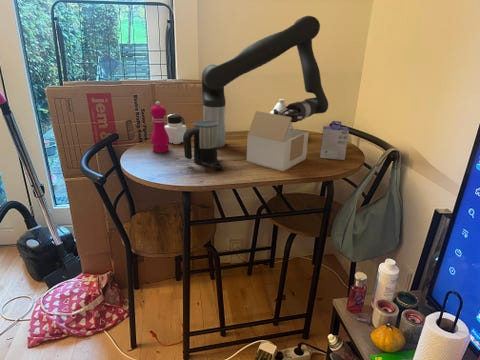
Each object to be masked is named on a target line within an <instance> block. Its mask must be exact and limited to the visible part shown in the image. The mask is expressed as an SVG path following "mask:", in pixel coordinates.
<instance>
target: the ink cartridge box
mask: <svg viewBox="0 0 480 360" xmlns="http://www.w3.org/2000/svg"><path fill="white" fill-rule="evenodd" d="M349 131H350V129H349V127H344V126H342V121H338V120H332V121H331V126H327V125H324V126H323V128H322V137H321V145H320V146H321V147H320V153H319V158H320V159H331V160H339V161H340V160H342V161H343V160H344V161H345V160H346V154H347V146H348V140H349V134H350V133H349Z"/></svg>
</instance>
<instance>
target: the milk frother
mask: <svg viewBox="0 0 480 360" xmlns="http://www.w3.org/2000/svg"><path fill="white" fill-rule="evenodd" d="M217 125H218V123H217V122H214V121H204V120H196V121H194V122H193V126H194V127H193V128H189V129H186V132H185V133H184V136H183V142H182V144H183V152H184V158H185V159H187V160H193V163H196V164H198V165H204V166H207V167H211V168H213V169H215V170H218V171H219V170H220V169H224V165H223V164H222V163H220V162H218V161H219V160H218V148H217ZM192 137H193V151H192ZM192 152H193V154H192Z"/></svg>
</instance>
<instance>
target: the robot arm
mask: <svg viewBox="0 0 480 360" xmlns="http://www.w3.org/2000/svg"><path fill="white" fill-rule="evenodd" d="M320 29H321V24H320V21H319V19H318V18H317V17H315V16H311V15H306V16H303V17H301V18H299V19H297V20H296V21H294V23H293V24H292V25H290V26H289V27H287V28H286V29H284V30H281V31H279V32H275V33H273V34H271V35H268V36H266V37H263V38H261V39H259V40H257V41H255V42H253V43H251V44H249V45H248V46H247V47H245V48H244V49H243V50H241V51H240V52H239V53H238V54H237V55H236V56H234V57H233V58H230V59H229V60H227V61H225V62H222V63H220V64H209V65H207V66H206V67H204V68H203V70H202V74H201V90H202V91H201V93H202V94H201V95H202V102H203V103H202V104H203V121H214V122H217V123H218V125H217V149H218V148H223V147H224V146H226V96H225V86H227V85H229V84H230V83H231V82H233V81H234V80H236V79H237V78H239V77H241V76H242V75H245V74H248V73H250V72H252V71H255V70H256V69H258V68H259V67H262V66H264V65H266V64H268V63H269V62H271V61H273V60H274V59H277V58H278V57H279V56H281V55H283V54H285V53H286V52H287V51H289V50H290V49H292V48H293V47H296V49H297V52H298V56H299V60H300V65H301V71H302V76H303V85H304V90H305V92H306V93H309V94H313V95H314V96H315V97H310V98H305V99H304V100H298V101H296V102H295V101H294V102H292V103H289V104H287V105H286V106H287V107H286V108H285V109H284V110H281V111H278V110H276V109H274V108H273V109H274V112H273V114H276V115H282V116H287V117H292V119H291V122H292V124H293V123H297V122H301V121H303V120H305V119H306V118H310V117H311V116H313V115H318V114H324V113H326V112H327V111H328V110H329V101H328V98H327V96H326V94H325V92H324V89H323V86H322V79H321V73H320V68H319V64H318V62H317V59H316V58H315V54H314V49H313V39H315V38H316V37H317V36H318V34H319V32H320Z"/></svg>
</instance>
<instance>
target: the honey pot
mask: <svg viewBox="0 0 480 360" xmlns="http://www.w3.org/2000/svg"><path fill="white" fill-rule="evenodd" d="M285 101H286V99H283V98H279V99H278V102H277V103H276V104H275V106H274V107H273V109H272V110H271V111H269V113H270V114H273V112H274V109H276V110H278V111H281V110H284V109H285V108H286V107H287V105H286V104H285ZM289 128H292V129H294V125H293V122H290V125H289Z"/></svg>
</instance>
